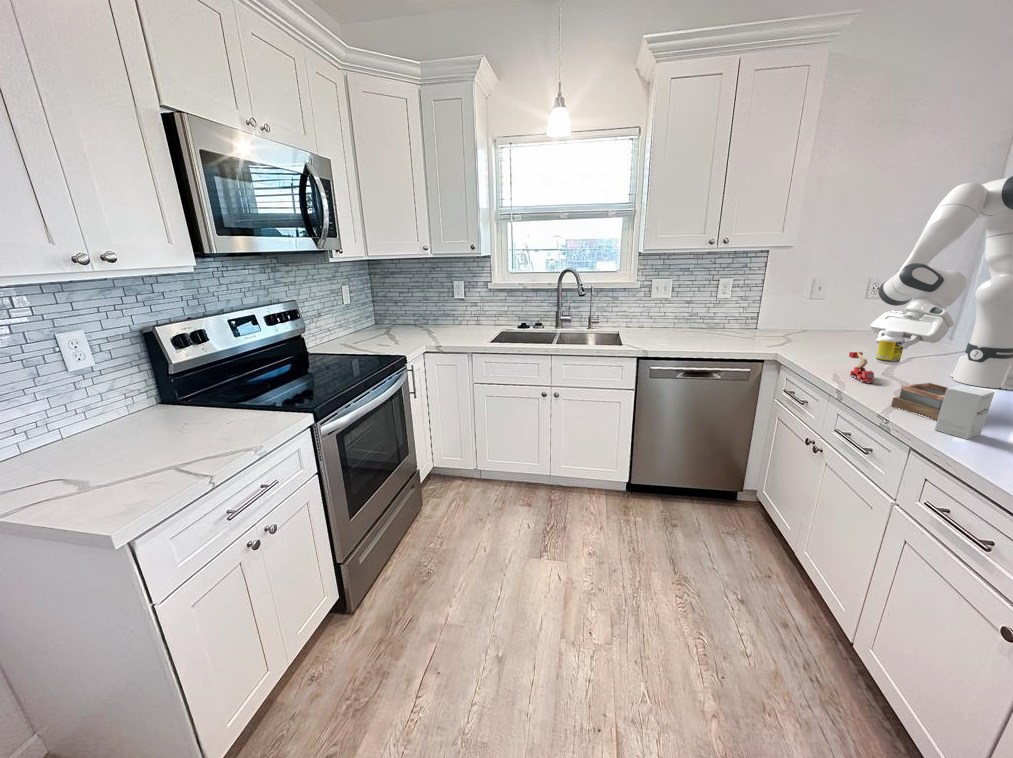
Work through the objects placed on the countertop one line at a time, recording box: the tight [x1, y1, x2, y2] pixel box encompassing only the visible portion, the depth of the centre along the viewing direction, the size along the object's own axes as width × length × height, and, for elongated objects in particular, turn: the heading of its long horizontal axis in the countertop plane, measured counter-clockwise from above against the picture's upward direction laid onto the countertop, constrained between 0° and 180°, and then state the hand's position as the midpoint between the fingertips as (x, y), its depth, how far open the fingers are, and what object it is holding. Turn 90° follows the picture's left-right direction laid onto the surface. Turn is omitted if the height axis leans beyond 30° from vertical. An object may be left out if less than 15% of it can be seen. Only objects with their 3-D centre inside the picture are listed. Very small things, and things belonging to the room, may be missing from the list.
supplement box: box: [934, 384, 995, 440], centre depth 120 cm, size 7×7×13 cm
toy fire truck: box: [848, 351, 875, 384], centre depth 169 cm, size 3×14×10 cm, turn 168°
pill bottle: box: [875, 329, 906, 366], centre depth 145 cm, size 6×6×11 cm
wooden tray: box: [890, 382, 948, 422], centre depth 136 cm, size 13×13×7 cm
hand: (889, 345), depth 145 cm, fingers closed on pill bottle, 6 cm apart
